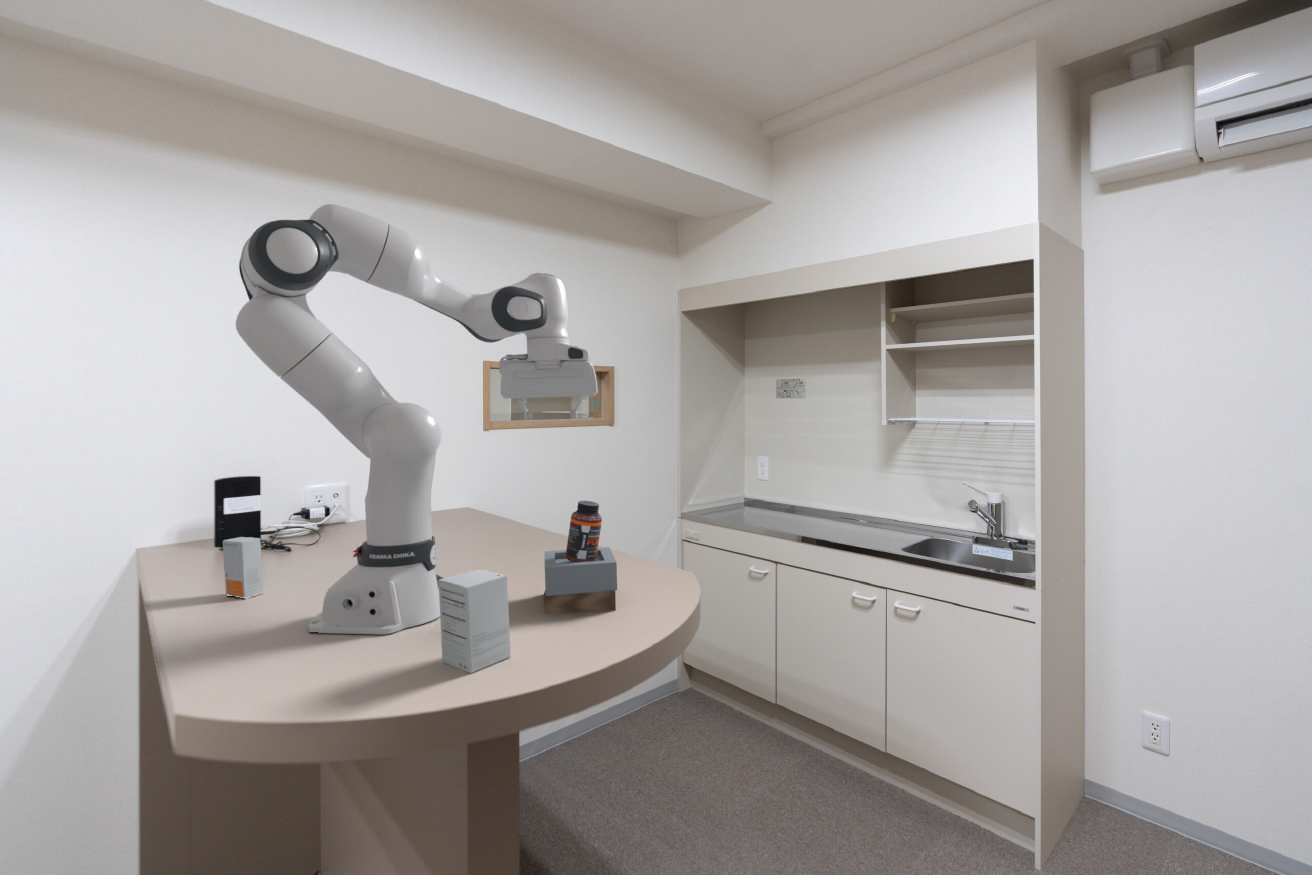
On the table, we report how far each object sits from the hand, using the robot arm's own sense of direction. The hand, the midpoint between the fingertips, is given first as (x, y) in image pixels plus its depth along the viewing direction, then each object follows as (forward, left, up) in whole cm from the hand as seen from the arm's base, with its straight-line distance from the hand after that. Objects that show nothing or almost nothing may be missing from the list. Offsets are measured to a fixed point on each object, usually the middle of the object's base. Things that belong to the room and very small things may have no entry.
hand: (550, 419), depth 132 cm
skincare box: (-65, +1, -35) cm, 74 cm away
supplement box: (-8, -40, -35) cm, 54 cm away
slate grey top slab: (+6, -14, -32) cm, 35 cm away
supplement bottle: (+6, -14, -27) cm, 31 cm away
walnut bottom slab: (+6, -13, -36) cm, 39 cm away
